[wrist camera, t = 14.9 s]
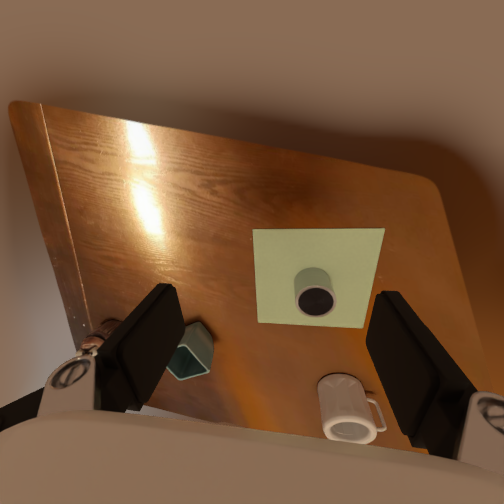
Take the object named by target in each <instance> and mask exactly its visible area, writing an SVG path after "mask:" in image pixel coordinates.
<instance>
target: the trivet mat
mask: <svg viewBox="0 0 504 504" xmlns="http://www.w3.org/2000/svg"><path fill="white" fill-rule="evenodd" d="M384 231H385V228H333V229H253V245H254V262H255V279H256V296H257V313H258V322H261V323H278V324H296V325H313V326H330V327H347V328H363V325H364V321H365V316H366V312H367V307H368V303H369V298H370V294H371V289H372V285H373V280H374V276H375V271H376V267H377V262H378V258H379V253H380V249H381V244H382V240H383V235H384ZM306 268H319V269H321V270H323V271H325V272H326V273H327V274H328V276H329V278H330V281H331V284H332V287H333V290H334V293H335V296H336V299H337V303H336V306H335V308H334V310H333V311H332V312H331V313H329V314H328V315H325V316H322V317H309V316H306V315H304V314H302V313H301V312H300V311H299V310H298V309H297V307H296V304H295V291H294V279H295V277H296V275H297V274H298V273H299V272H300V271H302V270H303V269H306Z"/></svg>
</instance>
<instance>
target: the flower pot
mask: <svg viewBox="0 0 504 504" xmlns="http://www.w3.org/2000/svg"><path fill="white" fill-rule="evenodd" d="M213 353H214V345H213V340H212V337H211V335H210V333H209V332H208V331H207V330H206V328H205V327H204V326H203V325H202V324H201V322H196V323H193V324H191V325H188V326H186V327H185V334H184V336H183V338H182V340H181V341H180V343H179V345H178V347H177V349H176V351H175V353H174V354H173V356H172V358H171V360H170V362H169V364H168V366H167V367H166V368H167V369H168V370H169V371H170V372H171V373H172V374H173V375H174V376H175V377H176V378H177V379H178V380H184V379H188V378H191V377H195V376H198V375H202V374H206V373H209V372H210V368H211V363H212V358H213Z"/></svg>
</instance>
